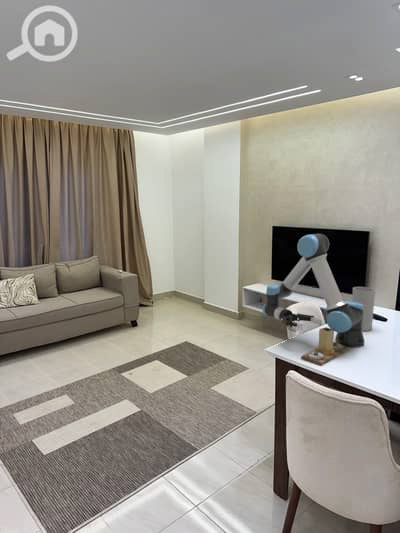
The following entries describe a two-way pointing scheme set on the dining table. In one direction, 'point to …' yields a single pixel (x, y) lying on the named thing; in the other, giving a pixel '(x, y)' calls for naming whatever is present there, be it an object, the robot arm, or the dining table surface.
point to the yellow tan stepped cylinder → (326, 341)
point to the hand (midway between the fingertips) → (311, 324)
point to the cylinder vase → (365, 304)
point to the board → (323, 359)
